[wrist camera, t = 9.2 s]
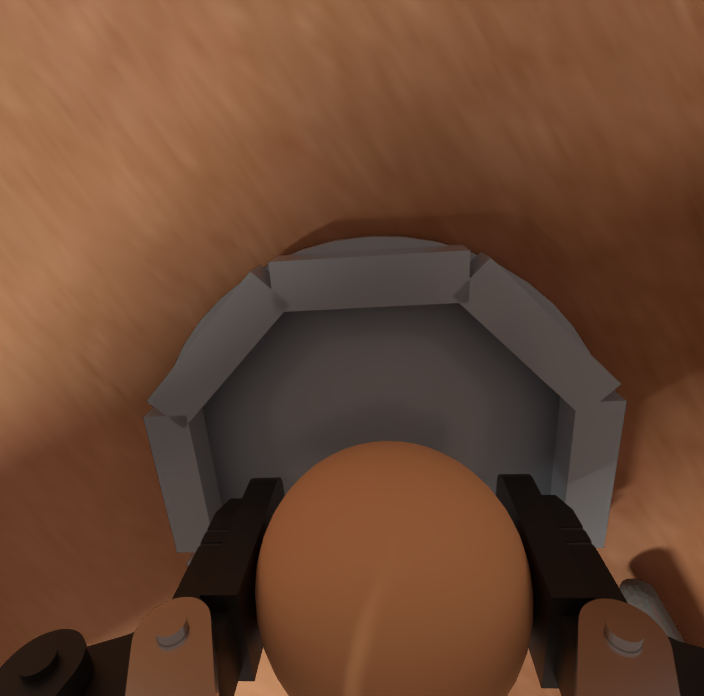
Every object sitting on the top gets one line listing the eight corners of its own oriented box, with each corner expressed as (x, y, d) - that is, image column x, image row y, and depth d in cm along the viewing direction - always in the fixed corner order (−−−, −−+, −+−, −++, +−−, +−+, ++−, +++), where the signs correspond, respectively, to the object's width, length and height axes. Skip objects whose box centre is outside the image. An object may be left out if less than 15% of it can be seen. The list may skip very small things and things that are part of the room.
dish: (209, 609, 16) (192, 651, 15) (126, 250, 12) (90, 259, 11) (575, 608, 16) (597, 653, 14) (629, 219, 11) (668, 224, 10)
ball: (296, 570, 13) (242, 825, 8) (273, 400, 11) (181, 587, 6) (489, 570, 13) (566, 839, 7) (499, 393, 11) (609, 588, 6)
